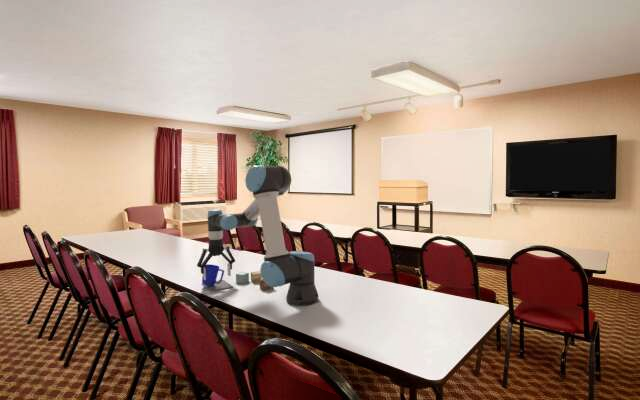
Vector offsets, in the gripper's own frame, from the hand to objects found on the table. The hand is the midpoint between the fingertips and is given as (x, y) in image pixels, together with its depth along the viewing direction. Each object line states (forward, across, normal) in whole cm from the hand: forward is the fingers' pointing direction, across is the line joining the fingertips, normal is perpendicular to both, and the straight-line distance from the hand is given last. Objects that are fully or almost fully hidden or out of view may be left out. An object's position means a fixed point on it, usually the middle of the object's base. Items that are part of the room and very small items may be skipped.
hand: (217, 277), depth 194 cm
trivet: (+5, 0, 0) cm, 5 cm away
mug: (+4, +3, 0) cm, 5 cm away
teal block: (+5, -14, +1) cm, 15 cm away
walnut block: (+5, -20, +20) cm, 29 cm away
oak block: (+5, -21, +4) cm, 22 cm away
